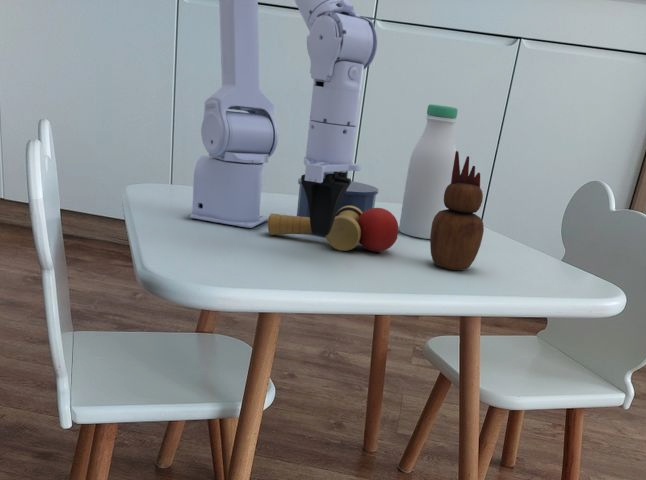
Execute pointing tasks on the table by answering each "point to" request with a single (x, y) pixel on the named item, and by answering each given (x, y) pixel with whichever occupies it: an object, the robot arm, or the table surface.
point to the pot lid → (355, 187)
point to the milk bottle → (429, 172)
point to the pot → (347, 200)
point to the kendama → (345, 228)
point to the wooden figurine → (458, 221)
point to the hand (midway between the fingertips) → (320, 233)
